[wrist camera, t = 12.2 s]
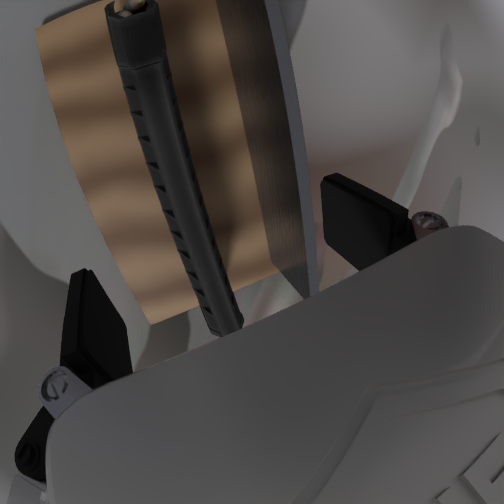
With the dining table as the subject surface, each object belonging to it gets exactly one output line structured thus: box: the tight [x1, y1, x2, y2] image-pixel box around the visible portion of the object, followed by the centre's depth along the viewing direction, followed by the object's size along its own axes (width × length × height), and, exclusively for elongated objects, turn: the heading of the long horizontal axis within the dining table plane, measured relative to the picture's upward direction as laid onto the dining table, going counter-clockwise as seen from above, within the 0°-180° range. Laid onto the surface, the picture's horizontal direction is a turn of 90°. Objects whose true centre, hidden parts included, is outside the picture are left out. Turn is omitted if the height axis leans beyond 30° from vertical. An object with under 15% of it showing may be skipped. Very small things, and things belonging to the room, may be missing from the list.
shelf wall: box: [216, 0, 319, 299], centre depth 23 cm, size 30×1×9 cm, turn 13°
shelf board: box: [35, 0, 280, 325], centre depth 26 cm, size 34×18×2 cm, turn 13°
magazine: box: [104, 0, 244, 337], centre depth 22 cm, size 17×3×30 cm
